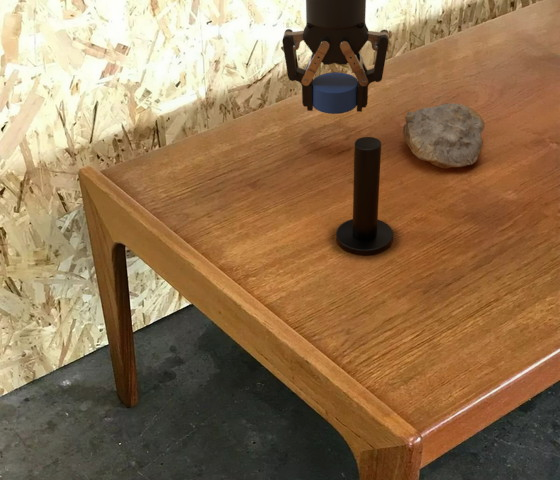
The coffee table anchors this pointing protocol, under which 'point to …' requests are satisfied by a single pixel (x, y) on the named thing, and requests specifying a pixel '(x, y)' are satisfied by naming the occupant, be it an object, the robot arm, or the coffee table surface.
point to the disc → (334, 93)
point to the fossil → (445, 134)
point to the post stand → (365, 204)
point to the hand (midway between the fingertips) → (335, 108)
